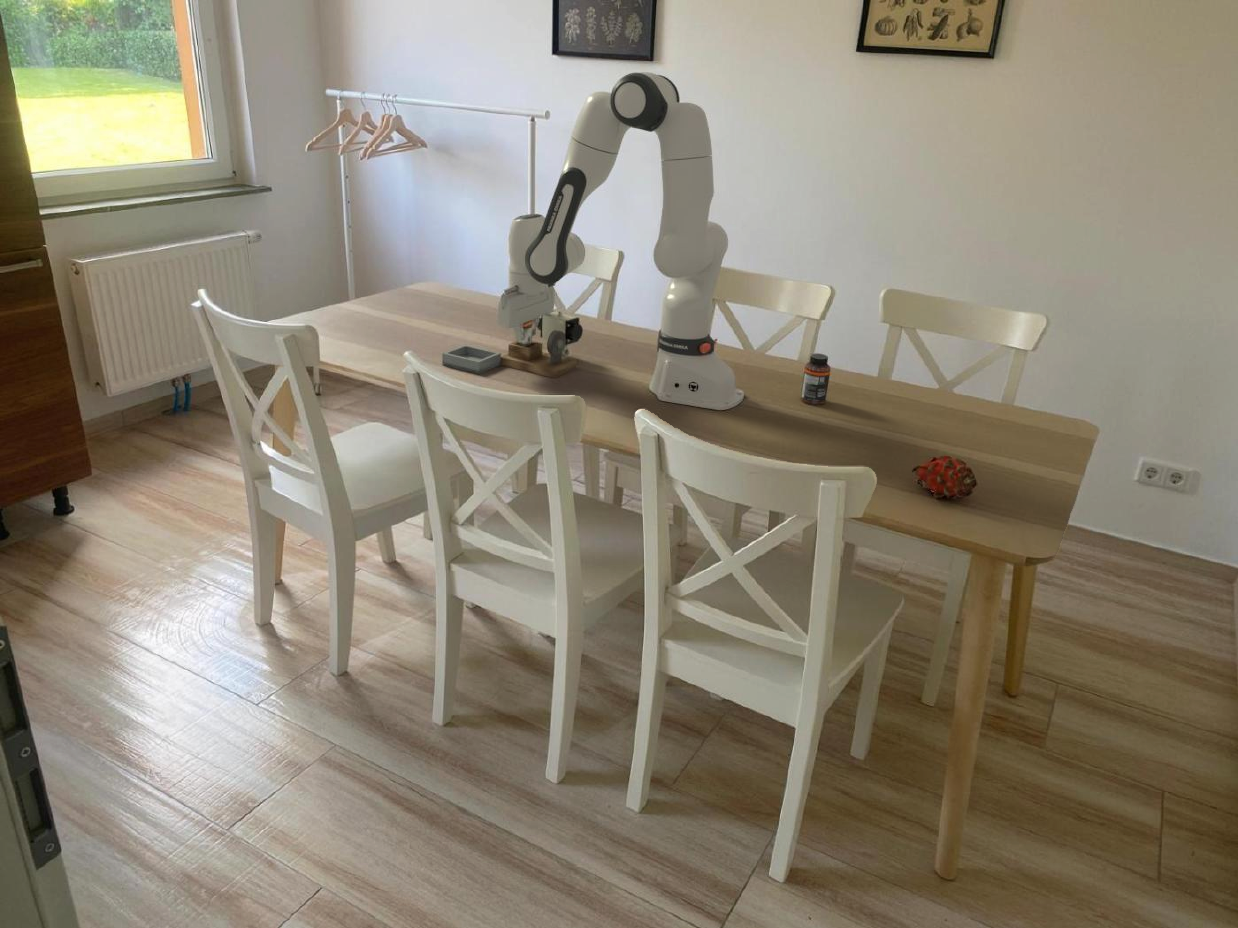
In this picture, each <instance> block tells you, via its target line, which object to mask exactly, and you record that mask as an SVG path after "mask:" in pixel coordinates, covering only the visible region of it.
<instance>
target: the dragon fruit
mask: <svg viewBox="0 0 1238 928" xmlns="http://www.w3.org/2000/svg"><path fill="white" fill-rule="evenodd" d="M914 472H915V475H916V476H918V478H916V483H917V484H918V485H919V486H920V488H922V489H928V490H929V491H930V490H932V491H934V492H935V493H933V497H934V498H935V497H936V498H935V499H938V498H943V497H944V496H946V499H948V500H956V499H957V497H960V498H964V497H970V496H971V495H972V494H974V492H973V489H975V487H977V485H978V481H977V478H976V475H975V472H974V471H973V470H972V468H971V467H970V466H967V463H966V462H965V461H964V460H963V459H962V458H960V457H956V458H955V459H953V458H952V457H951V456H950V455H945V454H943V455H940V456H939V457H935V456H934V457H932V459H931V460H930V461H927V462H923V463H922V464H918V465H916V466H915V467H913V469H911V473H914Z"/></svg>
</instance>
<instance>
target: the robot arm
mask: <svg viewBox="0 0 1238 928" xmlns="http://www.w3.org/2000/svg"><path fill="white" fill-rule="evenodd" d="M680 99H681V98H680V93H679V91H678V88H677V87H676V85H675V83H674V82H673V81H672V80H671V79H669V78H668V77H666V76H664V75H660V74H656V73H653V72H647V71H646V72H645V71H643V72H631V73H628V74H625V75H624V76H622V77H621V78H620V79H618V80H617V82H616V83H615V84H614V86H613V87H612V90H611V92H608V91H596V92H592V93H591V94H590V95H588V97H587V98H585V102H584V103H583V105H582V108H581V109H580V112H579V114H578V116H577V119H576V121H575V124H574V126H573V130H572V132H571V133H572V134H571V135H570V140H569V142H568V147H567V150H566V154H565V157H564V161H563V165H562V169H561V172H560V174H559V179H558V181H557V184H556V187H555V190H554V193H553V195H552V198H551V200H550V204H549V207H548V210H547V212H546V215H545V216H544V215H542V214H539V213H538V214H537V213H529V214H525V215H523V214H522V215H519V216H517V217H515V218H514V219H513V220H512V221H511V224H510V227H509V228H510V229H509V234H508V235H509V236H508V254H509V266H508V282H507V283H508V287H507V288H505V289H504V290H503V292H502V294H501V295H500V297H499V300H498V305H497V314H496V318H497V319H496V322H497V324H498V326H499V327H501V328H505V329H513V332H514V334H515V337H514V338H515V341H522V340H524V339H525V337H524V336H525V333H523V332H522V329H521V328H522V327H523V323H526V322H528V321H531V320H532V321H533V322H532V337H533V336H536V334H537V329H538V328H537V326H538V323H539V317H542V316H544V315H547V314H550V313H552V311H554V307H555V299H556V298H555V296H556V295H555V294H556V292H555V291H556V290H555V286H556V284H557V283H558V282H559V281H561V279H562V278H564V277H565V276H566V275H568V274H570V273H571V272H574V270H576V269H578V268H579V267H580V266H581V265H582V264H583V263H584V261H585V256H586V250H585V249H586V248H585V246H584V243H583V240H582V239H581V238H580V237H579V236H578V235H577V234H575V233H573V232H572V231H573V230H572V229H573V226H574V225H575V221H576V218H577V215H578V212H579V210H580V208H581V207H582V206H583V204H584V202H585V201H586V199H587V198H588V197H589V196H590V195H592V193H593V192H594V191H595V190H597V188H599V187H600V186H601V185H603V184H604V183H605V182H606V180H608V178H609V176H610V174H611V172H612V170H613V168H614V166H615V164H616V162H617V158H618V155H619V151H620V148H621V145H622V141H623V139H624V137H625V135H626V133H627V132H628V130H629V129H631V128H632V129H636V130H637V129H638V130H642V131H645V132H650V133H651V132H654V133H655V134H656V135H657V139H658V140H659V147H660V163H661V178H662V179H661V181H662V195H663V196H662V210H661V218H660V225H659V233H658V237H657V238H658V239H657V241H656V243H655V246H654V249H653V262H654V265H655V267H656V268H657V270H658V271H659V272H660V274H661V275H663V276H665V277H667V278H670V280H669V281H670V282H669V283H668V286H667V290H666V292H665V294H664V296H663V299H662V300H663V301H662V313H661V324H660V329H659V331H658V336H657V337H658V338H657V342H656V343H657V348H656V350H657V351H656V352H657V358H656V359H657V360H656V364H655V367H654V372H653V375H652V377H651V380H650V384H649V386H648V388H649V390H650V392H651V393H653V394H654V395H656V396H657V398H658V400H659V401H662V402H666V403H667V402H668V403H674V404H681V405H686V406H692V407H697V408H698V407H699V408H703V409H711V410H716V411H723V410H729V409H732V408H734V407H737V406H738V405H740V404H741V402H742V401H743V400H744V397H745V394H744V391H743V390H742V389H739V388H737V387H736V377H735V373H734V370H733V369H732V368H731V367H730V366H729V365H728V364H727V363H726V362H725V361H724V360H723V359H722V358H721V357H720V356H719V355H718V354H717V353H716V351H715V345H716V344H718V338H715V339H713V338H712V337H711V335H710V334H709V328H710V321H711V320H710V319H711V310H712V303H713V298H714V293H715V290H716V286H717V282H718V279H719V277H720V272H721V267H722V264H723V260H724V257H725V256H726V255H725V254H726V253H727V250H728V248H729V239H728V234H727V233H726V230H725V229H724V228H723V226H721V225H720V224H718V223H716V222H713V221H710V220H709V216H710V215H709V214H710V207H711V204H712V200H713V198H714V193H715V188H714V185H715V184H714V168H713V167H714V166H713V149H712V138H711V133H710V128H709V123H708V119H707V116H706V112H705V111H704V109H703V108H702V107H701V106H700V105H698V104H695V103H692V102H680Z"/></svg>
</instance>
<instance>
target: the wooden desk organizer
mask: <svg viewBox="0 0 1238 928" xmlns="http://www.w3.org/2000/svg"><path fill="white" fill-rule="evenodd" d="M565 343H566V337H565V334H564V333H563V332H561V331H557V330H554V331H553V332H551V334H550V336H549V338H548V339H547V343H546V348H547V352H545V351H543V343H542V342H540V341H539V342H538V341H534V340H532V346H530V347H524V346H519V341H518V340H515V341H513V342H511V343H509V344H508V349H507V350H508V353H507V354H505V355H501V365H500V366H504V367H507V368H508V367H509V368H513V369H517V370H521V371H524V372H529V373H533V374H537V375H540V376H544V377H545V376H546V377H550V378H553V379H556V378H558V377H560V376H561V375H562V376H563V375H564V374H566V373H568V372H570V371H572V370H575V369H576V368H577V362H578V360H577V359H574V358H570V357H562V352H563V350H564V347H565Z"/></svg>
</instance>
